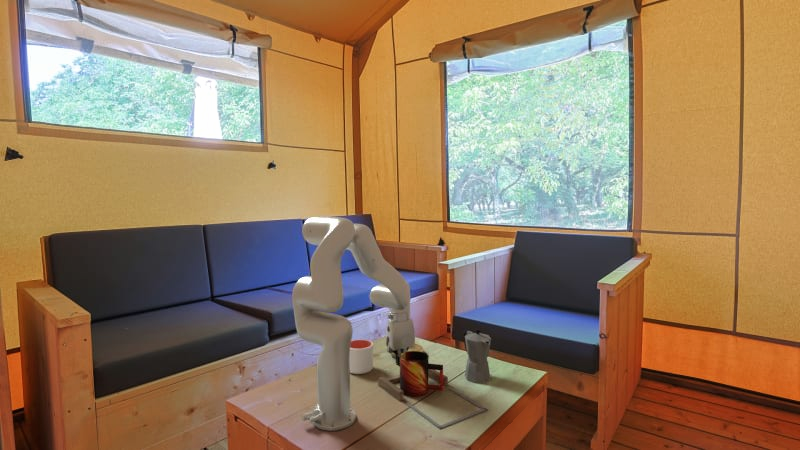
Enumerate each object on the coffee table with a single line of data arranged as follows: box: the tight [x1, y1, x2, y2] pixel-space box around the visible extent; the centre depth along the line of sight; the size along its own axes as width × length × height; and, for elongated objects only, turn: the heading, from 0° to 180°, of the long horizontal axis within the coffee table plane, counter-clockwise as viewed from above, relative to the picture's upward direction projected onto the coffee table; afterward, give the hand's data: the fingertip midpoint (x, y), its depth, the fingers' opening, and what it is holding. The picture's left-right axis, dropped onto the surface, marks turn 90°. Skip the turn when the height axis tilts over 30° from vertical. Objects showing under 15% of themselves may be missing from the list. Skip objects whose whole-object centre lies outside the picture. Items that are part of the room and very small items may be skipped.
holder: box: [377, 369, 449, 402], centre depth 148 cm, size 20×14×3 cm
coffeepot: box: [462, 328, 492, 384], centre depth 154 cm, size 15×9×18 cm, turn 26°
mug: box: [399, 351, 444, 398], centre depth 144 cm, size 10×14×12 cm
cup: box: [350, 339, 374, 375], centre depth 161 cm, size 10×10×10 cm
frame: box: [405, 387, 489, 430], centre depth 133 cm, size 19×17×1 cm
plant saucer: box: [389, 343, 424, 359], centre depth 177 cm, size 15×15×3 cm
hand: (400, 365), depth 155 cm, fingers closed
